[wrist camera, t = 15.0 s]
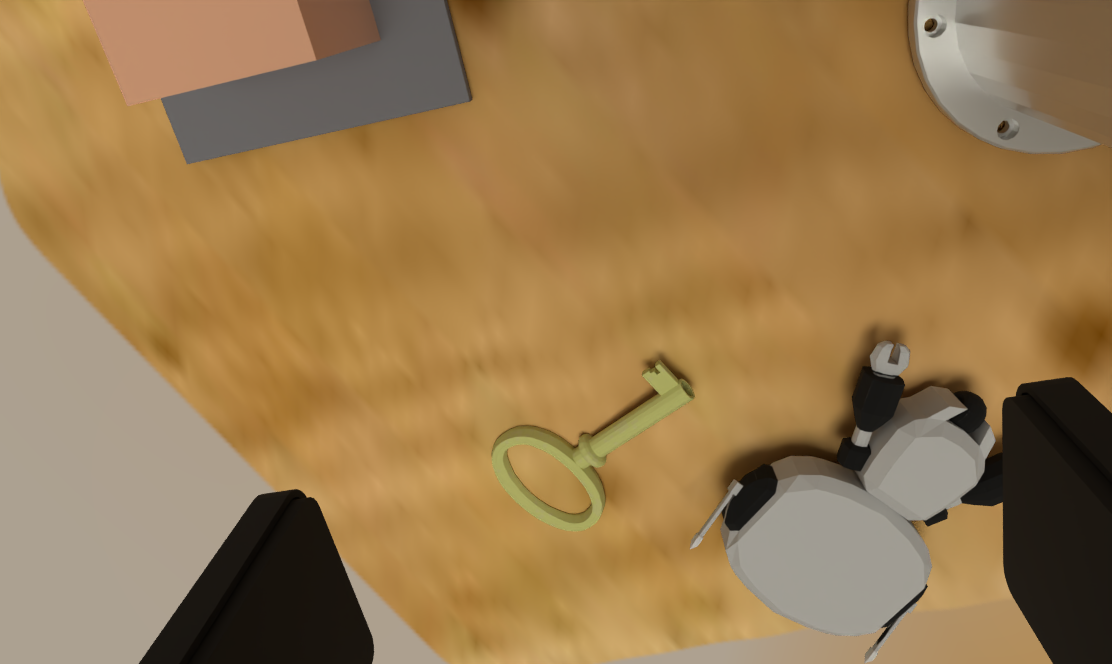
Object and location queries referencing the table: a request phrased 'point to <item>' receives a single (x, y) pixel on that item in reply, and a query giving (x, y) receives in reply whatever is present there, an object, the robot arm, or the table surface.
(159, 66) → the brown cube
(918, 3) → the robot arm
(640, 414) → the key
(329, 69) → the charcoal mat
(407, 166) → the table surface
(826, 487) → the robot toy
